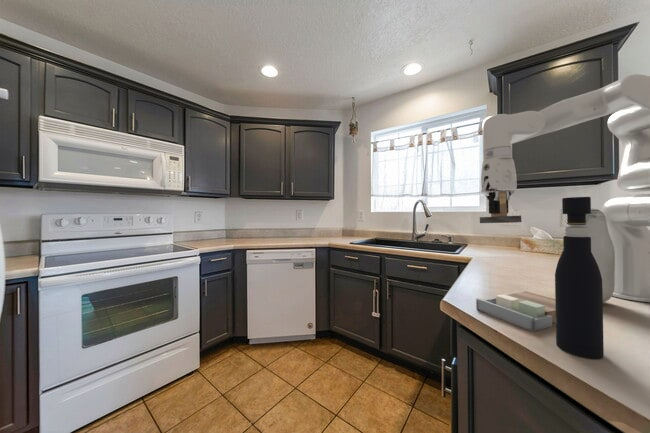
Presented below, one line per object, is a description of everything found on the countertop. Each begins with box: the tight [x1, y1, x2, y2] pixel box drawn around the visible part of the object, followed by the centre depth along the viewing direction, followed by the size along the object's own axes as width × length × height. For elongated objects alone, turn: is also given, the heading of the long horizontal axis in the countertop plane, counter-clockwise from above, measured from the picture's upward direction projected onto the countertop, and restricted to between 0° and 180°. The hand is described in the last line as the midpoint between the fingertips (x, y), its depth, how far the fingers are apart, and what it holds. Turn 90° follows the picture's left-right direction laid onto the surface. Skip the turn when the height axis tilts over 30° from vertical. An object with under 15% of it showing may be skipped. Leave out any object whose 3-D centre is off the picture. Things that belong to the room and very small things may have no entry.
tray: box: [475, 297, 553, 332], centre depth 63 cm, size 7×14×3 cm, turn 19°
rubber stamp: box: [479, 190, 522, 224], centre depth 77 cm, size 11×3×10 cm, turn 19°
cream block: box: [495, 293, 519, 312], centre depth 65 cm, size 4×4×3 cm
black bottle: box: [554, 196, 605, 360], centre depth 47 cm, size 6×6×30 cm
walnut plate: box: [507, 291, 556, 324], centre depth 66 cm, size 12×12×3 cm
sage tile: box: [519, 300, 545, 318], centre depth 60 cm, size 4×4×3 cm
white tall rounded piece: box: [567, 207, 615, 303], centre depth 72 cm, size 10×10×28 cm
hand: (498, 212), depth 77 cm, fingers closed on rubber stamp, 3 cm apart
